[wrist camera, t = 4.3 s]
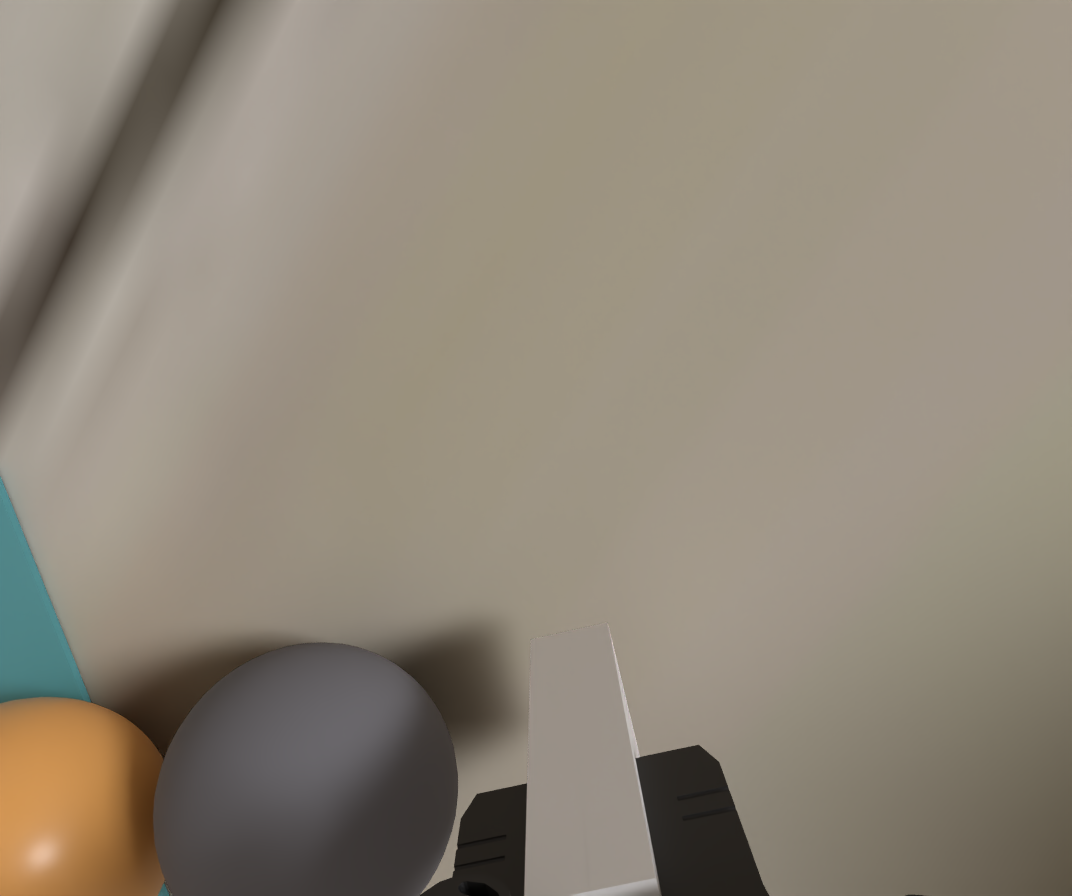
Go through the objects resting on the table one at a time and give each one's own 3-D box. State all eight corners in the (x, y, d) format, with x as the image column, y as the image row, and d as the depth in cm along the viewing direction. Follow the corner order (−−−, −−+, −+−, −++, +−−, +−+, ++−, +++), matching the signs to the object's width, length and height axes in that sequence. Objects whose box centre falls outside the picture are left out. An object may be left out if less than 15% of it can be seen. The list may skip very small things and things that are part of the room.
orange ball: (178, 629, 17) (-26, 799, 12) (259, 845, 19) (105, 1088, 13) (-37, 669, 18) (-312, 842, 13) (52, 873, 20) (-167, 1108, 14)
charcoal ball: (102, 843, 11) (94, 688, 16) (254, 1113, 13) (206, 900, 18) (451, 648, 13) (353, 564, 18) (543, 899, 15) (431, 761, 20)
